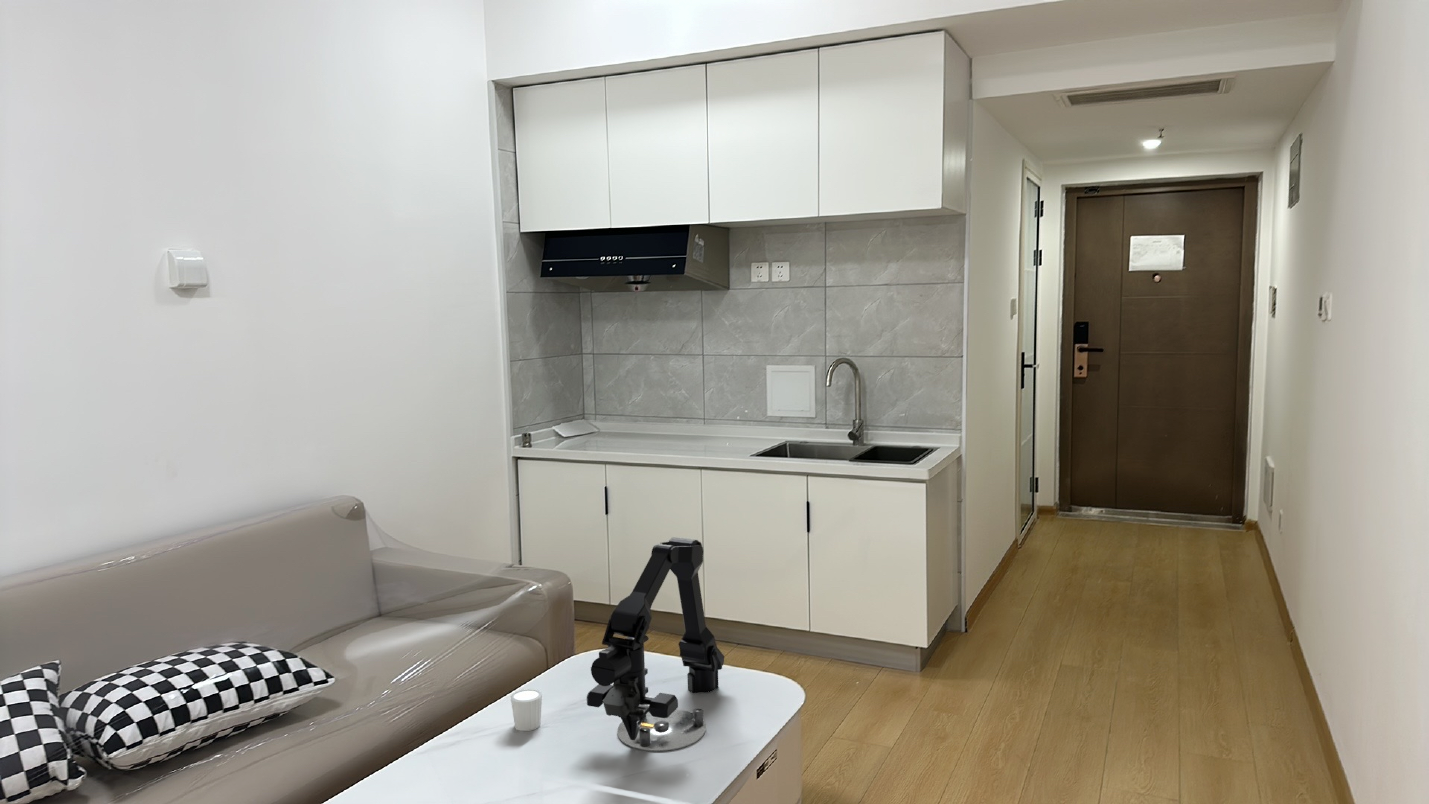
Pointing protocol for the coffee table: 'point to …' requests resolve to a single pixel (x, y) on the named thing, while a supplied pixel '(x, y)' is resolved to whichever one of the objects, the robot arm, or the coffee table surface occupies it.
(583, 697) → the coffee table surface
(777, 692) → the coffee table surface
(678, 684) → the coffee table surface
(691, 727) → the capstan dial
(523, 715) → the shot glass
